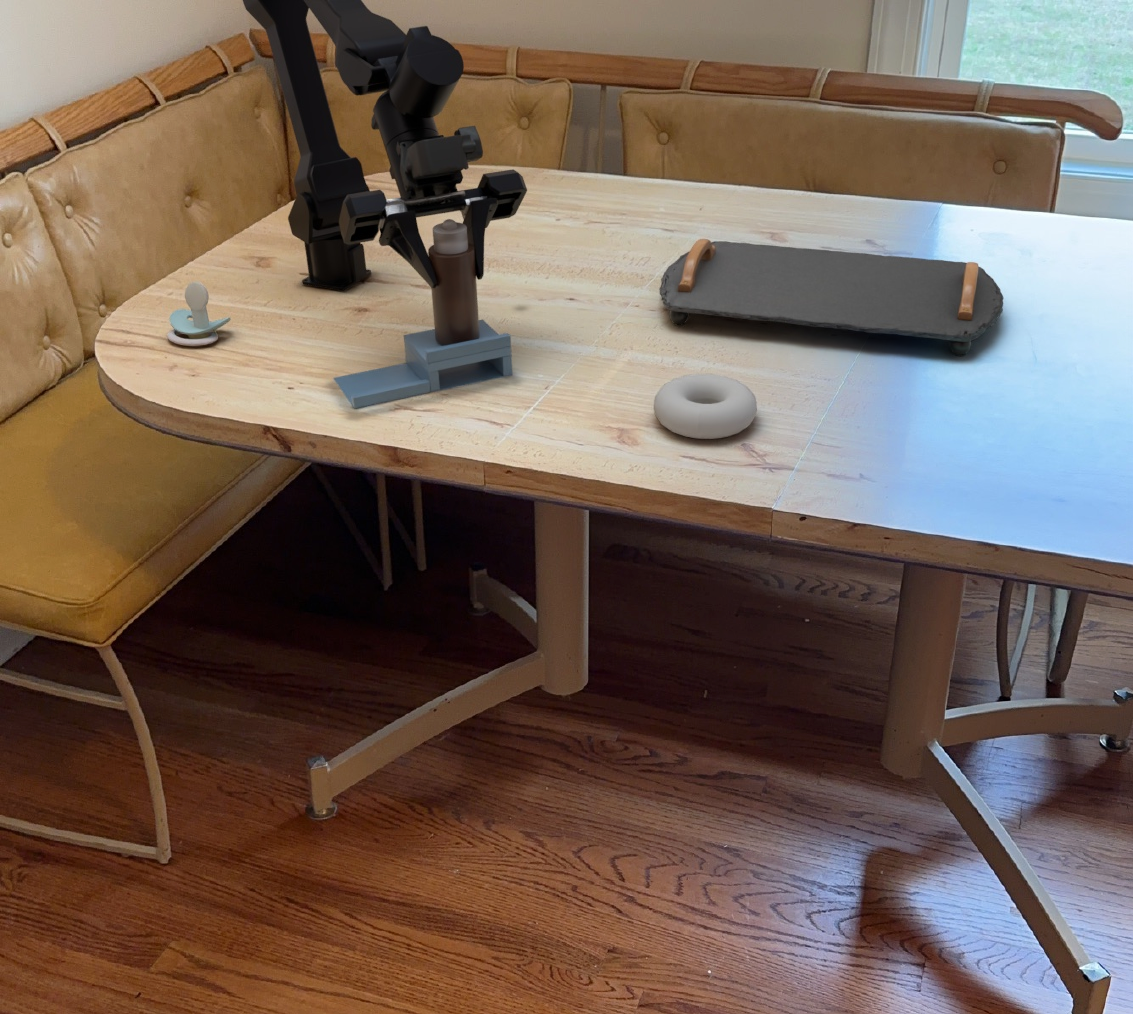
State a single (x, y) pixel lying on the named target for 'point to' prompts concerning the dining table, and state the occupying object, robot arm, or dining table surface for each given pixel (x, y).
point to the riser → (431, 368)
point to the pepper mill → (454, 284)
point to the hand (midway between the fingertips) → (457, 281)
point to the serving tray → (834, 290)
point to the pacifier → (194, 319)
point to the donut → (705, 406)
